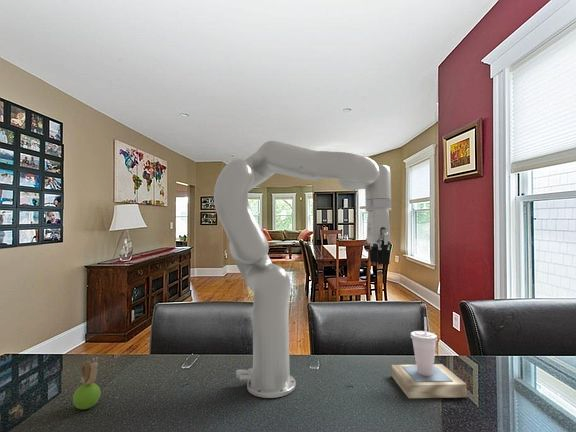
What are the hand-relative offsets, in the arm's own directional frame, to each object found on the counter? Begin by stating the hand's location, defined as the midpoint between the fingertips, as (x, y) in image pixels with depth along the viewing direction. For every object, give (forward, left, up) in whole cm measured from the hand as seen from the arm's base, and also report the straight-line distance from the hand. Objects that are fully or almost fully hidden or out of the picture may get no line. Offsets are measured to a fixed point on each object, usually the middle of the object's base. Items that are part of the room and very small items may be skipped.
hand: (379, 263), depth 94 cm
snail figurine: (-74, -19, -31) cm, 83 cm away
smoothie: (+8, -11, -28) cm, 31 cm away
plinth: (+8, -11, -31) cm, 33 cm away
